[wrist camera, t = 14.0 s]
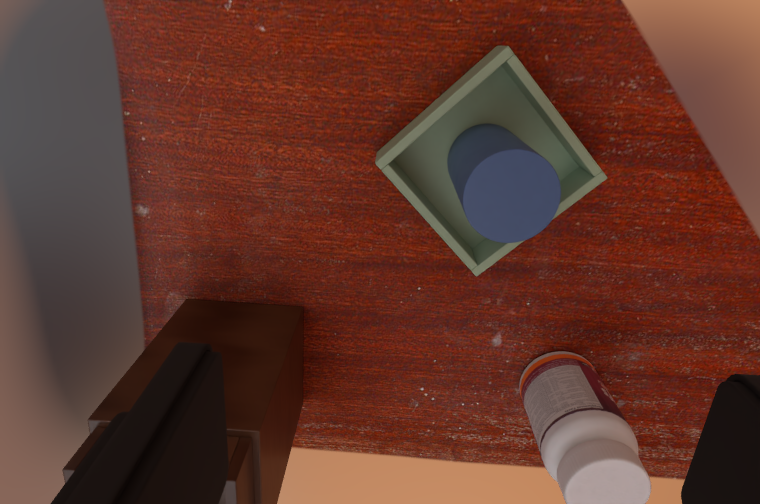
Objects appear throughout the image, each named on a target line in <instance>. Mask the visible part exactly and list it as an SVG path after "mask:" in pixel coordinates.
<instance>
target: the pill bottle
mask: <svg viewBox="0 0 760 504" xmlns="http://www.w3.org/2000/svg"><path fill="white" fill-rule="evenodd" d="M519 390H520V395H521V399H522V401H523V404H524V407H525V410H526V413H527V416H528V419H529V422H530V424H531V427H532V430H533V433H534V436H535V439H536V442H537V445H538V448H539V451H540V455H541V457H542V460H543V462H544V465H545V467H546V469H547V471H548V472H549V474H550V475H551V476H552V478H553V479H554V480H556V481H557V482H558V484H559V487H560V489H561V491H562V493H563V496H564V499H565V502H566V504H645V503H646V502H647V500H648V498H649V496H650V493H651V482H650V478H649V476H648V474H647V472H646V470H645V468H644V467H643V465H642V463H641V461H640V459H639V457H638V444H637V440H636V437H635V435H634V433H633V431H632V429H631V427H630V426H629V424H628V423H627V421H626V420H625V418H624V417H623V415H622V413H621V412H620V410H619V408H618V407H617V405H616V403H615V402H614V400H613V398H612V397H611V395H610V393H609V392H608V390H607V388H606V387H605V385H604V383H603V381H602V380H601V378H600V376H599V375H598V373H597V372H596V370H595V368H594V367H593V365H592V364H591V363H590V362H589V361H588V360H587V359H585V358H584V357H582V356H580V355H578V354H575V353H572V352H566V351H558V352H551V353H547V354H544V355H542V356H540V357H538V358H536V359H535V360H533V361H532V362H531V363H530V364H529V365H528V366H527V367H526V369H525V370H524V372H523V374H522V376H521V379H520V384H519Z"/></svg>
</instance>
